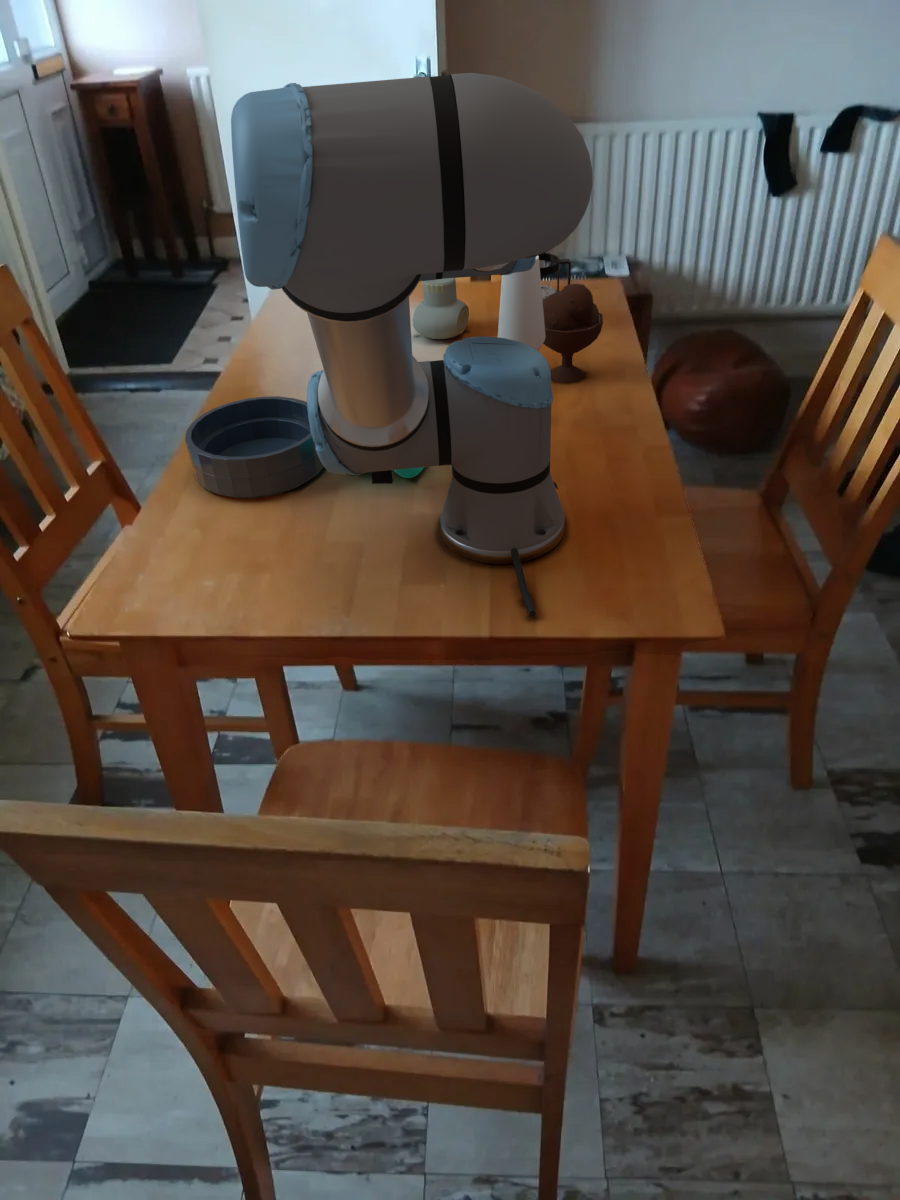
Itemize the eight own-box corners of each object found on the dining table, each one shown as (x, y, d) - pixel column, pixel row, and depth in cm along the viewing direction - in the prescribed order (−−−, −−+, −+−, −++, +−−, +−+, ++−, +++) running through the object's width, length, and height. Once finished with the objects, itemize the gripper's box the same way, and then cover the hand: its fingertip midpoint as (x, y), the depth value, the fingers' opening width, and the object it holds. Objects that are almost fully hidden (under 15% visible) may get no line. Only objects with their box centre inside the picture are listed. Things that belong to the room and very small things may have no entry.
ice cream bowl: (598, 361, 149) (603, 270, 140) (600, 390, 140) (605, 295, 131) (534, 361, 150) (535, 271, 141) (533, 390, 142) (533, 296, 132)
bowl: (314, 502, 119) (306, 458, 115) (178, 502, 120) (166, 460, 116) (338, 435, 133) (332, 395, 129) (217, 437, 135) (208, 397, 131)
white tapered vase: (532, 407, 137) (532, 246, 122) (552, 425, 132) (555, 259, 117) (492, 417, 135) (487, 254, 120) (511, 436, 130) (508, 268, 115)
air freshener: (454, 347, 157) (451, 290, 151) (410, 344, 159) (405, 287, 153) (472, 324, 165) (470, 269, 159) (430, 321, 167) (426, 267, 161)
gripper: (358, 271, 120) (375, 415, 133) (323, 345, 101) (347, 505, 114) (413, 269, 119) (425, 414, 132) (389, 344, 100) (405, 505, 113)
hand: (389, 456), depth 123 cm, fingers open, 13 cm apart
